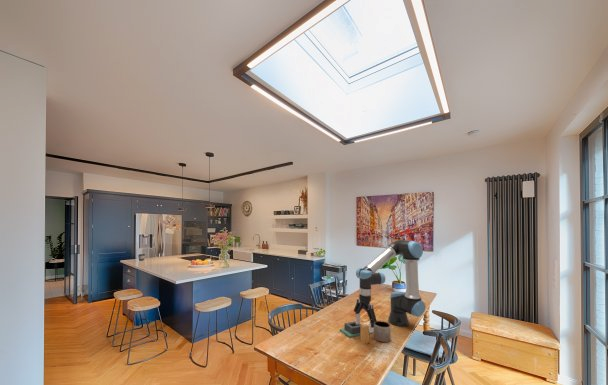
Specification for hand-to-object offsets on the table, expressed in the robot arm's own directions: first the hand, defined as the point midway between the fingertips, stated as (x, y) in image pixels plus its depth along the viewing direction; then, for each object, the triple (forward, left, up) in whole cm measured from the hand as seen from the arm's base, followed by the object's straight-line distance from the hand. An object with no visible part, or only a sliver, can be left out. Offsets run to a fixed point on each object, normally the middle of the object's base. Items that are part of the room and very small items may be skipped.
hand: (364, 328), depth 167 cm
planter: (-14, +1, -9) cm, 17 cm away
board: (-4, -14, -9) cm, 17 cm away
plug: (0, 0, -9) cm, 9 cm away
